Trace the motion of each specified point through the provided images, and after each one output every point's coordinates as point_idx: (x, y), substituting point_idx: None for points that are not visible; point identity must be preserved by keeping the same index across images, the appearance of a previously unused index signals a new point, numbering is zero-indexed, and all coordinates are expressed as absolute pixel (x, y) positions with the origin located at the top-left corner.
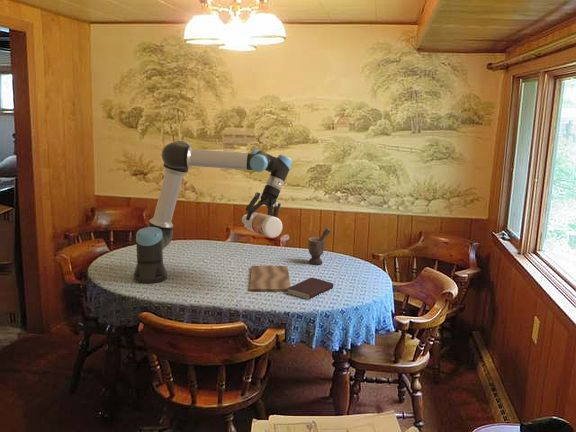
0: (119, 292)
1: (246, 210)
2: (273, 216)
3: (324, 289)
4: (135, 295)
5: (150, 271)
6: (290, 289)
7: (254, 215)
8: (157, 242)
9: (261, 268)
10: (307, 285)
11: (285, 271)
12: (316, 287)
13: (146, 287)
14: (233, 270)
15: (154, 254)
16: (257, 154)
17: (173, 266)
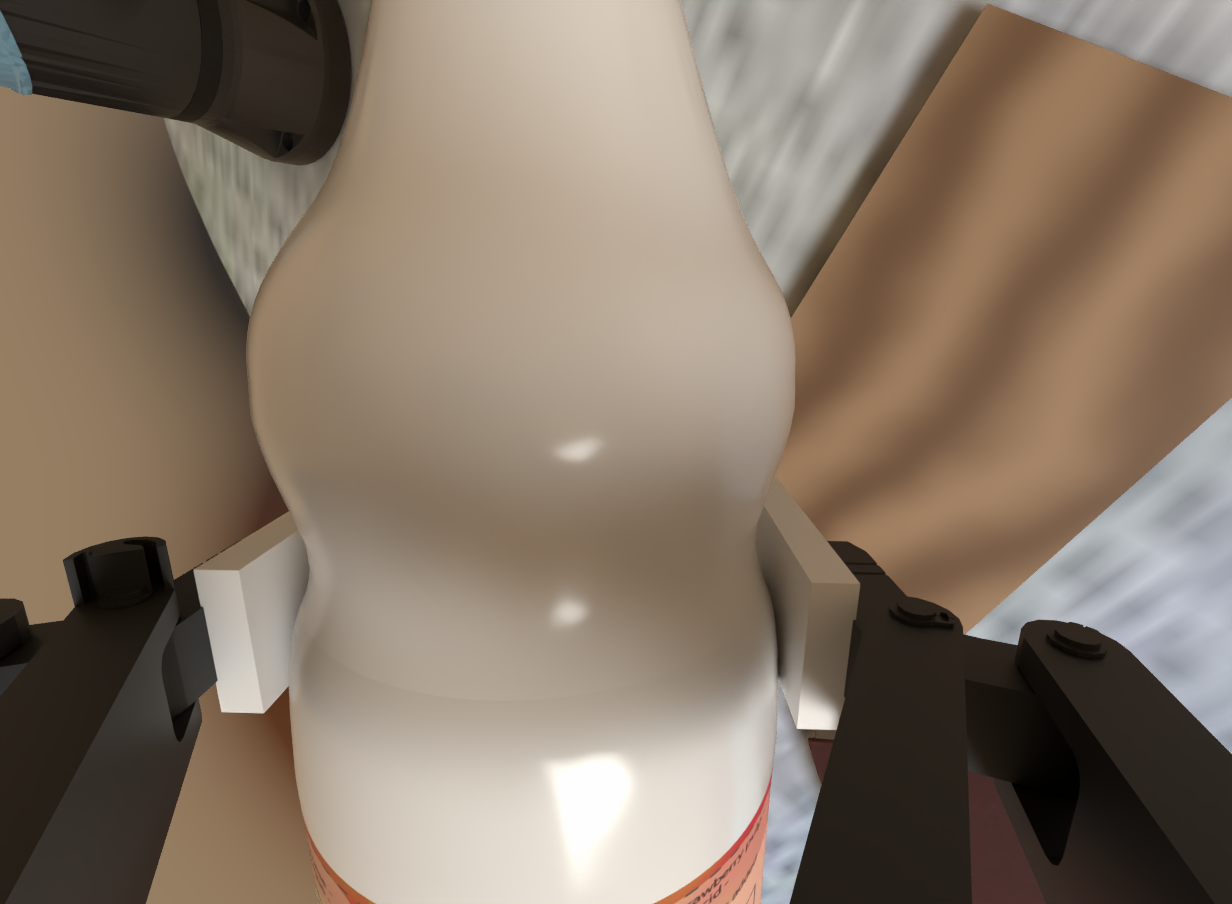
0: (212, 235)
1: (14, 612)
2: (1106, 867)
3: None
4: (252, 303)
5: (227, 139)
6: (816, 764)
7: (291, 721)
8: (26, 78)
9: (1010, 165)
10: (971, 826)
11: (1187, 391)
12: (1006, 889)
13: (279, 216)
14: (764, 51)
15: (125, 105)
16: None
17: None
